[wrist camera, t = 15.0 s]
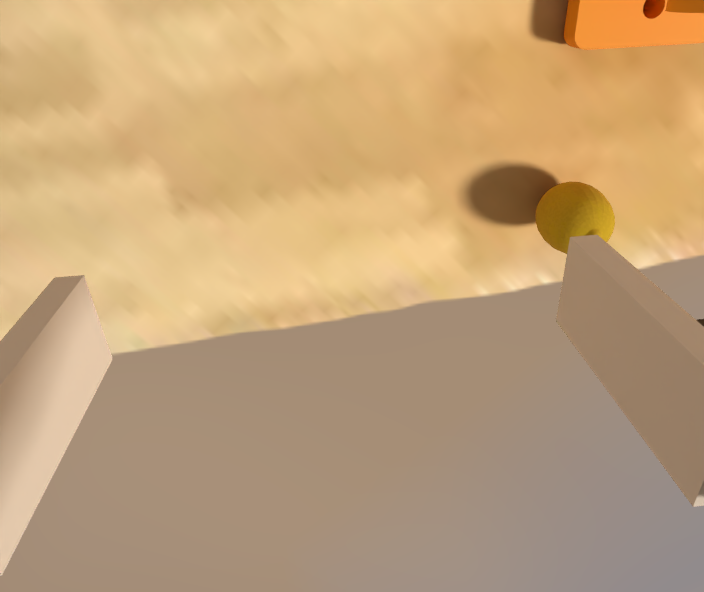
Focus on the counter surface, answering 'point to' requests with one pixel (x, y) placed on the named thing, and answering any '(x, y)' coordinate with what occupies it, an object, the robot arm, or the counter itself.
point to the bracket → (633, 23)
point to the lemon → (573, 214)
